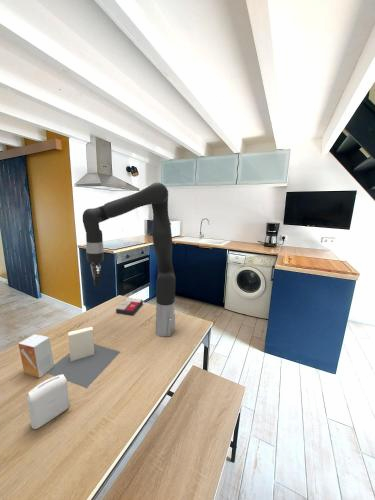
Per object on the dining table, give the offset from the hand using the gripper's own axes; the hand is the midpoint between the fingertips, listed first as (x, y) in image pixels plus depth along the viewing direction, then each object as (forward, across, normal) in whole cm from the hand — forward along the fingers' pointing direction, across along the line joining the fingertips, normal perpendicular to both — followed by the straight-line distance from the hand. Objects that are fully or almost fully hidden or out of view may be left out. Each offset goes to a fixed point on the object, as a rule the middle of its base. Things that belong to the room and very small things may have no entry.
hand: (96, 285), depth 102 cm
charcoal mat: (+25, -21, +9) cm, 34 cm away
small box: (+25, -17, +24) cm, 39 cm away
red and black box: (+26, +15, -21) cm, 37 cm away
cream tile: (+24, -17, +9) cm, 31 cm away
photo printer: (+25, -39, +20) cm, 51 cm away
